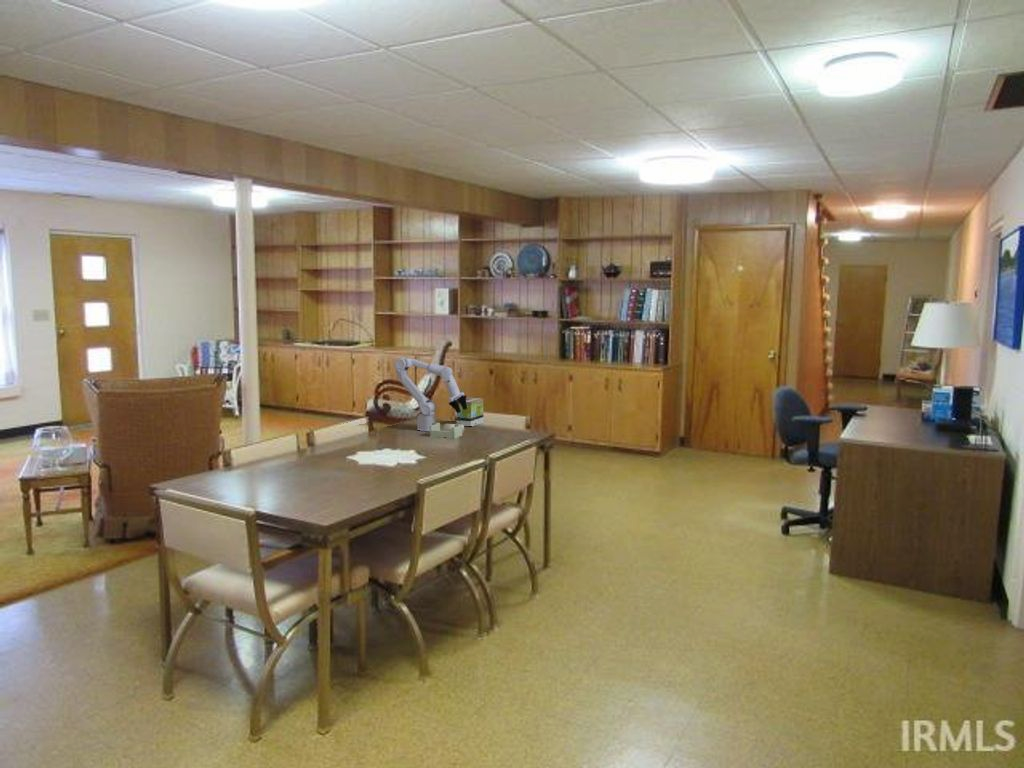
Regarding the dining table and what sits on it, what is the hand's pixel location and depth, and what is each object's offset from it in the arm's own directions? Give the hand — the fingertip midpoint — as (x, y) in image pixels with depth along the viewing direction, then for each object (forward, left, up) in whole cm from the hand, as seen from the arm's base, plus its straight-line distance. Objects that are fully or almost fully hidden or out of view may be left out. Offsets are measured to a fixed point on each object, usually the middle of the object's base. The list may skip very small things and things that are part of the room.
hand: (462, 410), depth 397 cm
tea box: (-5, +18, -12) cm, 22 cm away
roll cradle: (-2, -16, -11) cm, 19 cm away
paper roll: (-2, -7, -9) cm, 11 cm away
